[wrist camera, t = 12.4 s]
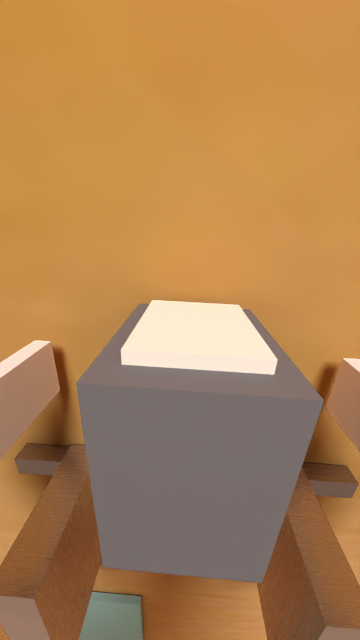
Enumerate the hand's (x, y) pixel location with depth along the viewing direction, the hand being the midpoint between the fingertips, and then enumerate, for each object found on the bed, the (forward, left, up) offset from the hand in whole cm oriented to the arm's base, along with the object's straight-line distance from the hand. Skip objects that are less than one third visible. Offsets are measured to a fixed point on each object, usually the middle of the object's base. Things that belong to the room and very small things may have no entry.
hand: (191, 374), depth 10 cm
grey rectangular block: (0, -1, -1) cm, 1 cm away
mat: (-7, -29, -1) cm, 29 cm away
